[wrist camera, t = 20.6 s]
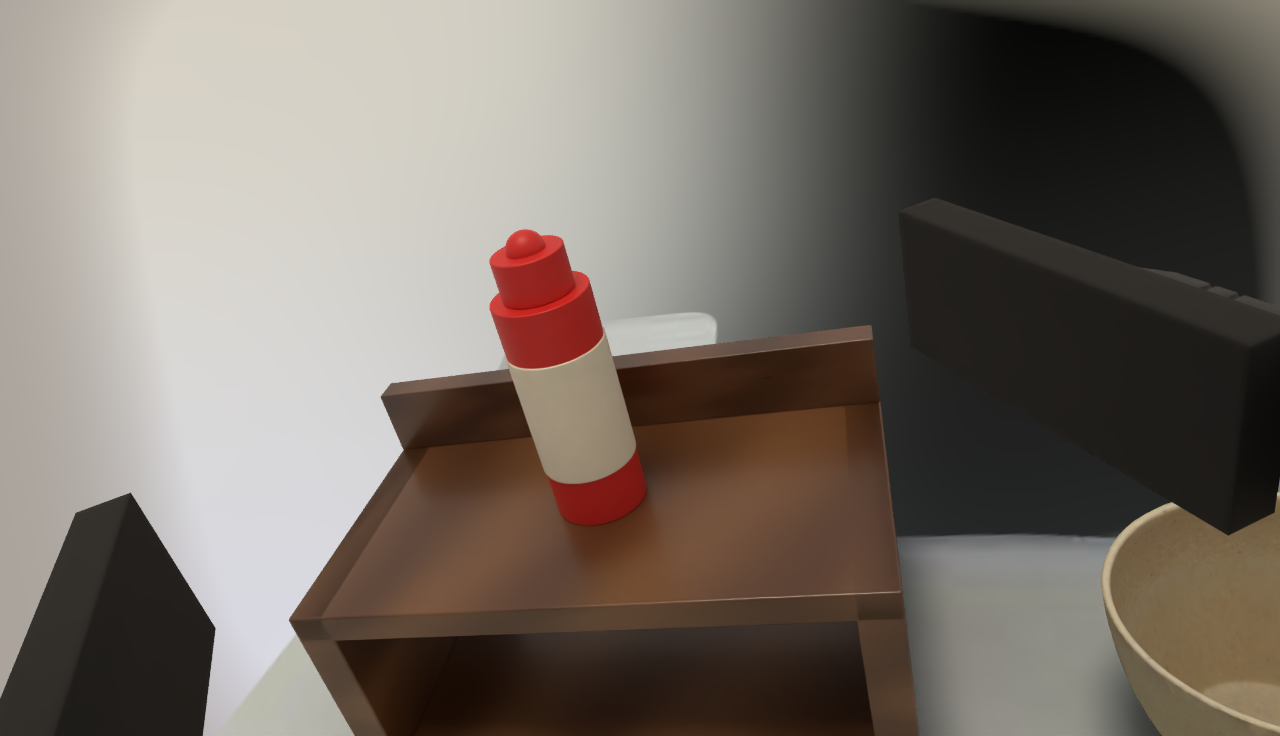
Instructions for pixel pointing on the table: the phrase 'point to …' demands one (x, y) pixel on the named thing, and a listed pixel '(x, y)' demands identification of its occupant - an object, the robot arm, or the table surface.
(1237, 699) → the beige bowl
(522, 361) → the red cream bottle
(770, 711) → the shelf
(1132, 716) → the table surface
